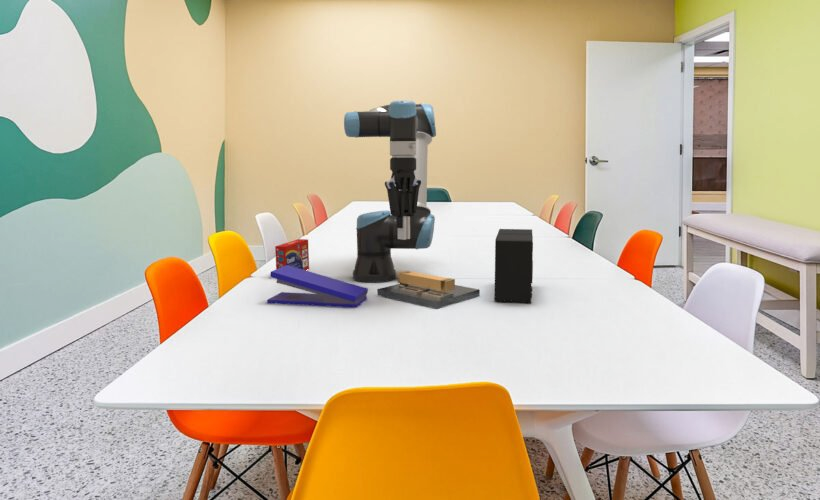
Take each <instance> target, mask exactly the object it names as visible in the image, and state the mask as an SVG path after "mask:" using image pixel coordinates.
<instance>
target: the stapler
mask: <svg viewBox="0 0 820 500" xmlns="http://www.w3.org/2000/svg"><path fill="white" fill-rule="evenodd" d="M269 277H270V278H273V279H276V281H275V282H276V284H280V285H284V286H287V287H291V288H294V289H298V290H302V291H305V292H304V293H303V292H286V291H281V292H280V293H278V294H276V295H273V296H272V297H270V298H268V299H267V301H266V303H267V304H276V303H277V304H278V305H299V306H318V307H337V308H338V307H339V308H358V307H359V306H361V305H362V304H363V303H364V302H365V301H367V298H368V297H367V296H368V295H367V294H368V291H369V288H367V287H364V286H360V285H356V284H354V283H351V282H347V281H344V280H340V279H336V278H333V277H330V276H326V275H323V274H319V273H315V272H312V271H309V270H307V271H306V270H303V269H299V268H296V267H292V266H289V265H287V266H284V267H282V268H279V269H276V268H275V269H274V270H272V271H270V275H269ZM306 292H309V293H306Z"/></svg>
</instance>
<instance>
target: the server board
mask: <svg viewBox="0 0 820 500" xmlns="http://www.w3.org/2000/svg"><path fill="white" fill-rule="evenodd" d="M376 291H377V294H376V295H377V297H378V296H379V297H383V298H388V299H392V300H397V301H401V302H406V303H410V304H414V305H418V306H419V305H420V306H424V307H428V308H431V309H432V308H433V309H437V310H438V309H440V308H444V307H448V306H452V305H455V304H457V303H461V302H464V301H468V300H471V299H475V298H477V297H480V295H481V294H480V289H479V288H473V287H468V286H462V285H457V284H455V289H454V290H450V291H441V290H436V289H431V288H425V287H420V286H415V285H410V284H403V283H397V284H393V285H389V286H384V287H381V288H377V290H376Z"/></svg>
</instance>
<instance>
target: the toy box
mask: <svg viewBox="0 0 820 500" xmlns="http://www.w3.org/2000/svg"><path fill="white" fill-rule="evenodd" d="M274 249H275V270H276V269H279V268H282V267H284V266H287V265H289V266H292V267H296V268H299V269H303V270H307V269H309V270H310V257H309V256H310V254H309V253H310V252H309V239H308V238H307V239H303V238H298V239H295V240H291V241H287V242H285V243H281V244H279V245H275V247H274ZM307 271H308V270H307Z"/></svg>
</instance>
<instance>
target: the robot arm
mask: <svg viewBox="0 0 820 500" xmlns="http://www.w3.org/2000/svg"><path fill="white" fill-rule="evenodd" d="M435 121H436V120H435V111H434V107H433V106H432V105H431V104H427V103H419V104H418V103H417V104H416V102H415V101H413V100H393V101H391V102H390V103H389V104H386V105H381V106H377V107H373V108H372V109H371V108H370V110H368V111H367V110H365V111H357V110H355V111H348V112H346V113H345V114H344V118H343V127H344V134H345V135H346V137H348V138H389V155H390V156H391V157H390V159H389V170H390V171H391V177H390V180H388V181H385V182H384V187H385V188H386V192H387V199H388V203H389V210H379V211H372V212H365V213H362V214H360V215H357V218H356V227H355V230H356V247H357V248H356V260H355V265H354V269H353V270H352V280H354V281H356V282H361V283H384V282H390V281H394V280H396V279H397V270H396V269H395V265H394V262H393V259H392V256H391V255H392V252H391V251H392V249H393V250H394V249H395V250H396V249H398V250H399V249H400V250H401V249H403V250H404V249H406V250H411V249H412V250H414V249H415V250H420V249H428V248H430V247H431V245H432V241H433V238H434V232H435V231H434V230H435V220H436V218H435V215H434V214H432V213H431V212H432V211H431V209H430V208H429V206H427V201H428V200H427V199H428V198H427V196H428V195H427V193H428V191H427V190H428V151H429V150H428V147H429V145H430V144H431V143H432V141H433V138H434V137H436V136H437V130H436V122H435Z"/></svg>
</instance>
